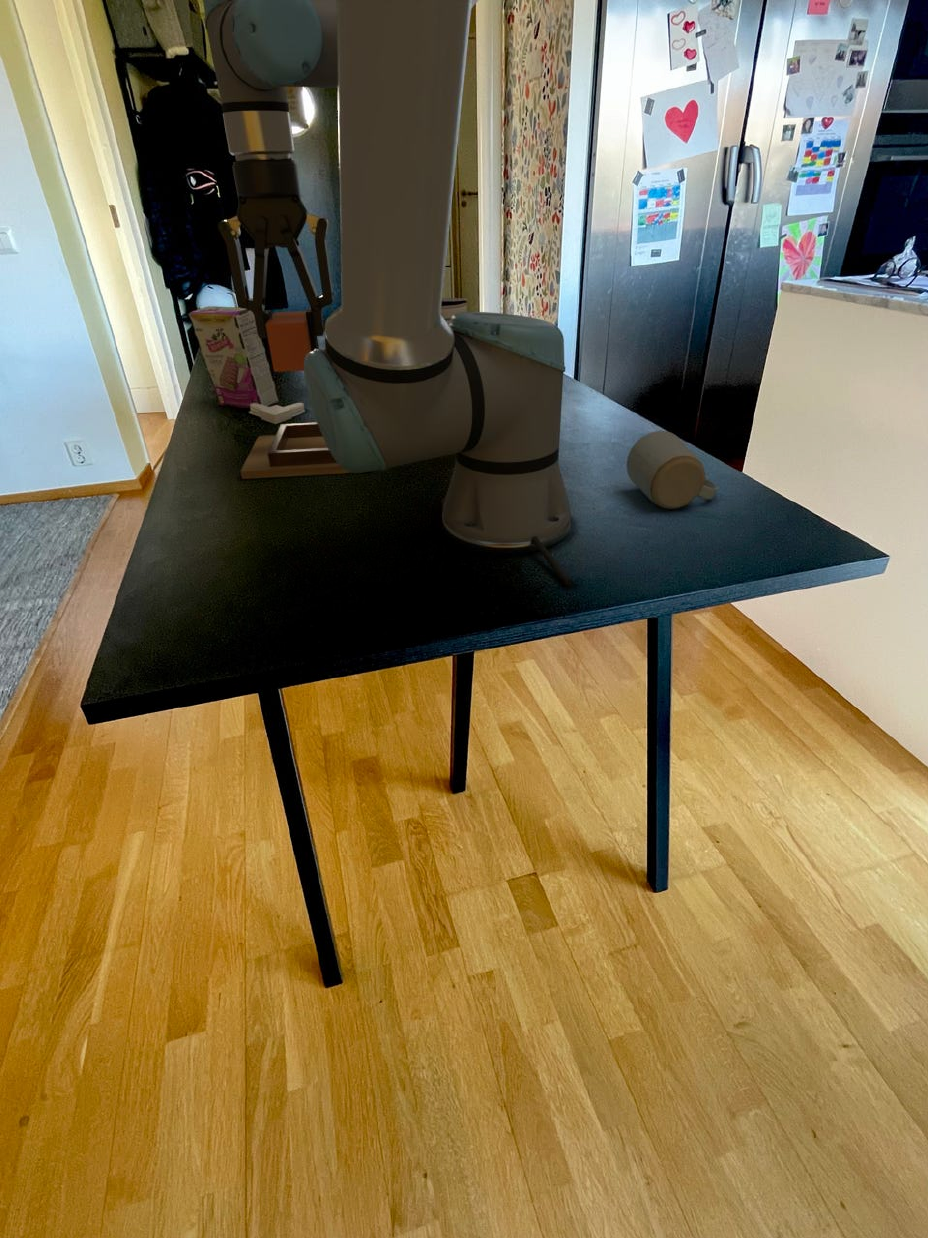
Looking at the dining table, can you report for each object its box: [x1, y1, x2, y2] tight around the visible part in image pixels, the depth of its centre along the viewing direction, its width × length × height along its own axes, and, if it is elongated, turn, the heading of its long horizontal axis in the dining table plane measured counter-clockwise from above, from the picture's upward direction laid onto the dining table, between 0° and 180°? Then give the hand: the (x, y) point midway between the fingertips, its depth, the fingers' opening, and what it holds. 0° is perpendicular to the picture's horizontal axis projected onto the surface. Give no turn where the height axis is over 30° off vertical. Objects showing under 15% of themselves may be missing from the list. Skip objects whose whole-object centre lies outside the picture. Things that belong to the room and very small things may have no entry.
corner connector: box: [248, 402, 305, 425], centre depth 118 cm, size 8×8×2 cm
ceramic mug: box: [626, 430, 719, 510], centre depth 82 cm, size 11×8×8 cm
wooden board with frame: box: [239, 421, 352, 480], centre depth 99 cm, size 15×18×3 cm
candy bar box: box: [188, 305, 280, 410], centre depth 118 cm, size 11×5×16 cm, turn 61°
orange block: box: [266, 310, 312, 373], centre depth 91 cm, size 8×5×6 cm, turn 5°
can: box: [440, 297, 468, 324], centre depth 151 cm, size 11×11×12 cm
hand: (296, 361), depth 92 cm, fingers closed on orange block, 5 cm apart
